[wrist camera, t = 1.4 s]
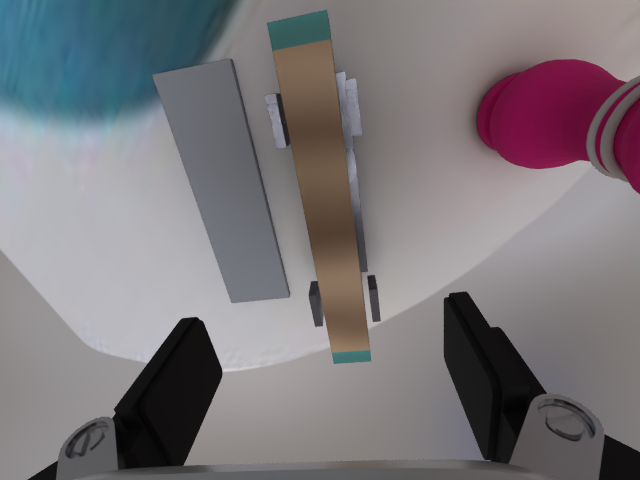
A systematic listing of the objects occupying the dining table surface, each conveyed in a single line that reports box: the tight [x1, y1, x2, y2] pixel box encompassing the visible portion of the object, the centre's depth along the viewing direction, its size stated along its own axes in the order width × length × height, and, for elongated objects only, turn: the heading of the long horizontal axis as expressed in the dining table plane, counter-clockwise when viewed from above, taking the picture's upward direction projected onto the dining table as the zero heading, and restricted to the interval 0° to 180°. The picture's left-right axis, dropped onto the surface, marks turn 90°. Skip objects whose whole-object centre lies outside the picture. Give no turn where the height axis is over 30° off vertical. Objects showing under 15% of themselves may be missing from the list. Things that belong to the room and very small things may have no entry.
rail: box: [267, 10, 371, 364], centre depth 21 cm, size 23×3×3 cm, turn 9°
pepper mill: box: [477, 59, 640, 194], centre depth 17 cm, size 7×7×20 cm
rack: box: [265, 72, 381, 327], centre depth 25 cm, size 19×5×10 cm, turn 9°
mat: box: [152, 59, 290, 303], centre depth 31 cm, size 24×7×1 cm, turn 9°
